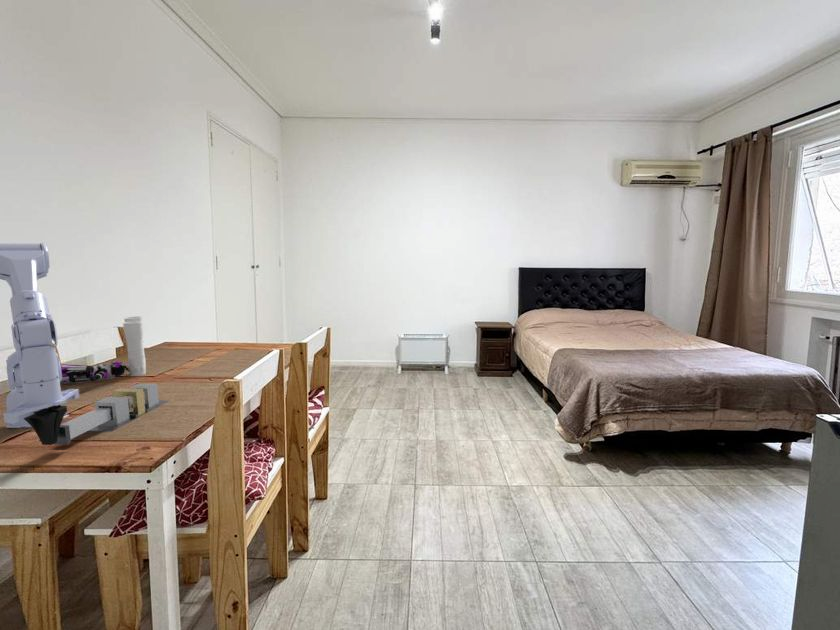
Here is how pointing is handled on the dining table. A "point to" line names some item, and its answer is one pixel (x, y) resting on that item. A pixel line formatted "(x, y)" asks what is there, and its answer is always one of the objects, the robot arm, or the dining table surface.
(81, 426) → the shaft
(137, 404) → the spacer
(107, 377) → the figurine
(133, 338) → the white plastic bottle
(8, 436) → the dining table surface
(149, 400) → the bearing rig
